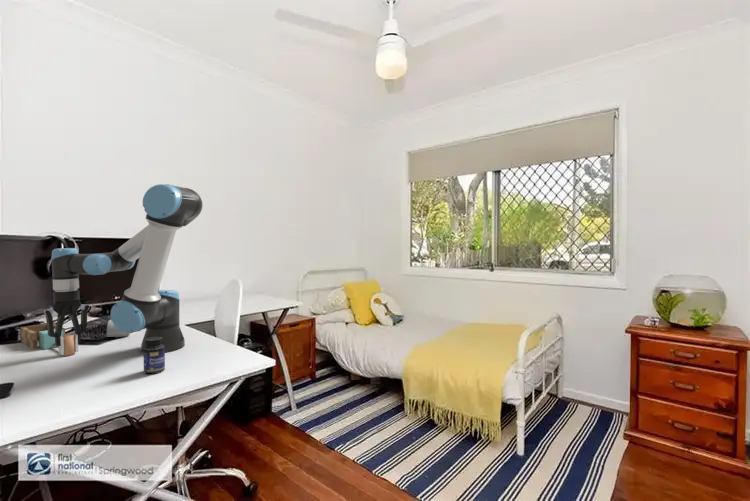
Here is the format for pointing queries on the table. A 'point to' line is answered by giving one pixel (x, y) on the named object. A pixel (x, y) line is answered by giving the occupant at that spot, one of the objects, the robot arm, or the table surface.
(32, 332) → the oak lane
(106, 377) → the table surface
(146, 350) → the pill bottle
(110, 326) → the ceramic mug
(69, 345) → the tethered block
